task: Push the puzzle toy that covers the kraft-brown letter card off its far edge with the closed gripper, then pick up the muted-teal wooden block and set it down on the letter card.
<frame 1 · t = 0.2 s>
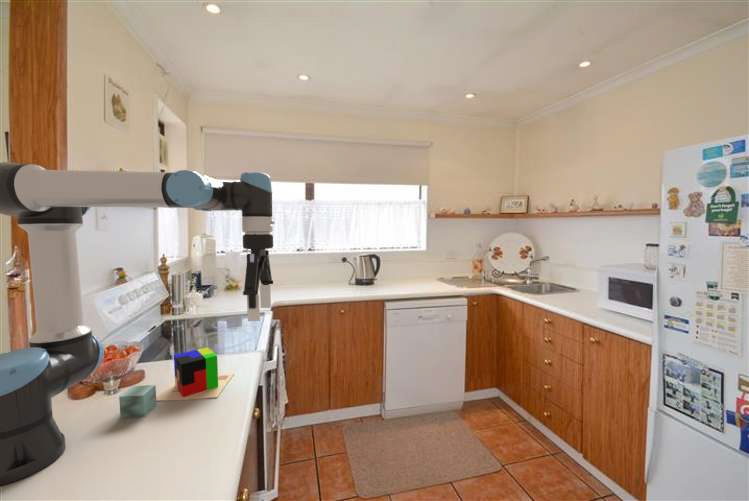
hand: (260, 313, 89), 28 cm above the counter, fingers open, 13 cm apart
puzzle toy: (196, 386, 107), resting on letter card
teal block: (139, 411, 93), on the counter
letter card: (196, 387, 107), on the counter
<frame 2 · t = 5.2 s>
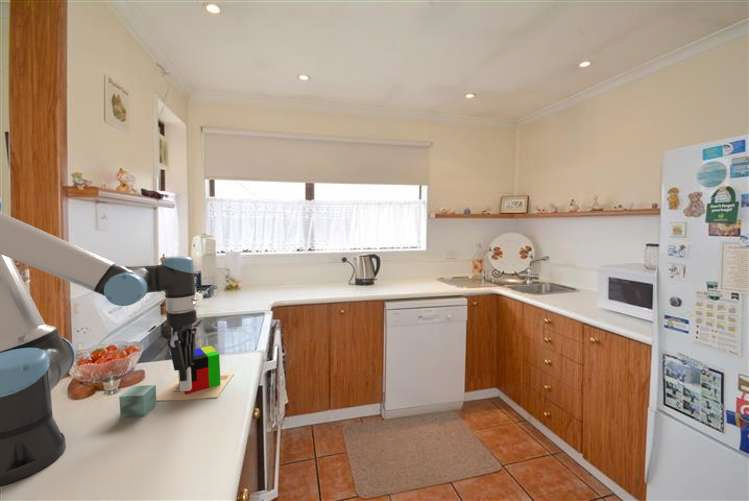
hand: (186, 389, 99), 3 cm above the counter, fingers closed
puzzle toy: (199, 384, 109), resting on letter card
everything else where it was.
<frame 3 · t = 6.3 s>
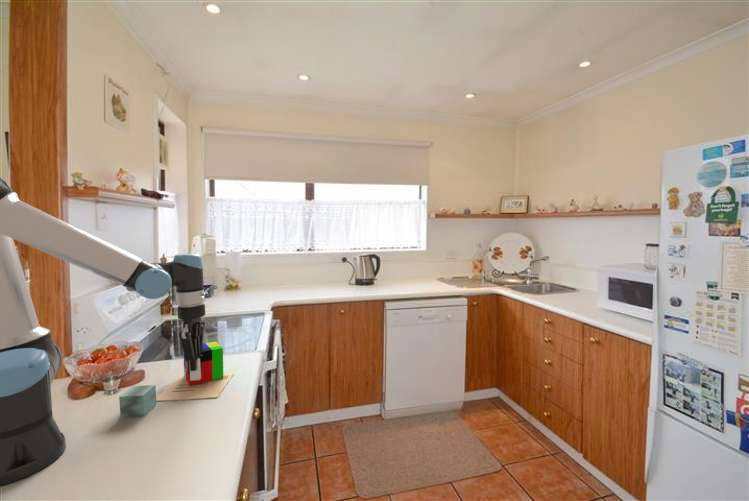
hand: (195, 379, 105), 3 cm above the counter, fingers closed
puzzle toy: (203, 377, 113), on the counter, touching gripper, hand, letter card
everything else where it was.
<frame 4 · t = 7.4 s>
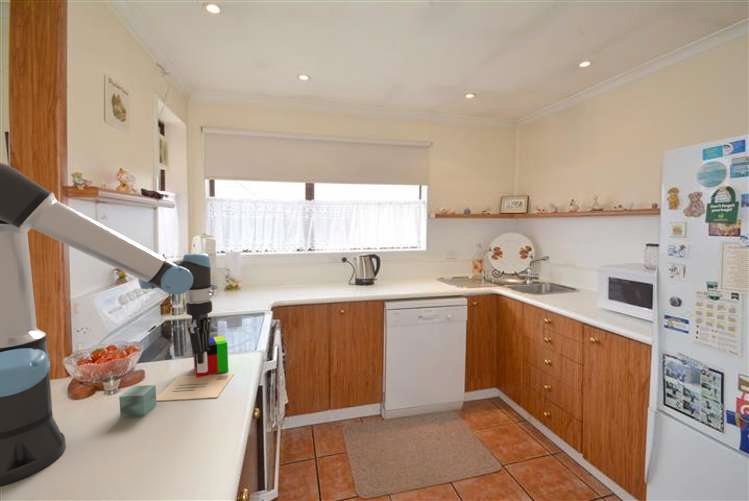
hand: (202, 371, 111), 3 cm above the counter, fingers closed
puzzle toy: (211, 369, 120), on the counter, touching letter card
everything else where it was.
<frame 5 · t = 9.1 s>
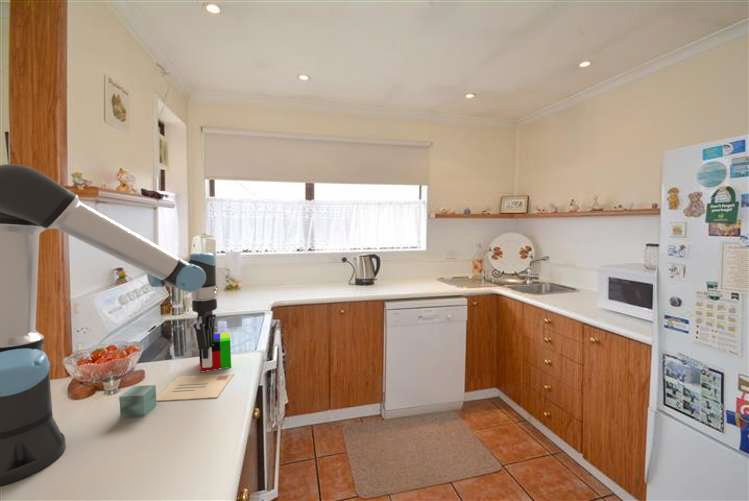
hand: (207, 366, 116), 3 cm above the counter, fingers closed
puzzle toy: (216, 365, 125), on the counter, touching gripper
everything else where it was.
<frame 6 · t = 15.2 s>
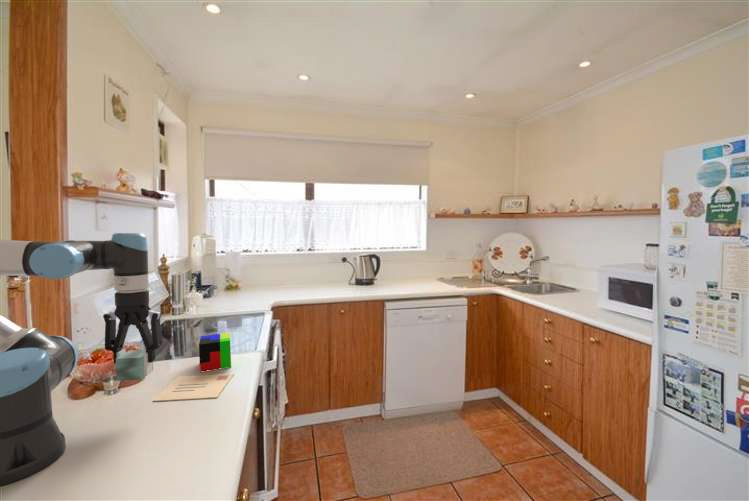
hand: (135, 373, 92), 11 cm above the counter, fingers closed on teal block, 6 cm apart
puzzle toy: (216, 365, 125), on the counter
teal block: (135, 375, 92), point 10 cm above the counter, touching gripper
when the fingers open (1 cm above the counter, at t = 18.7 s): teal block stays where it is, resting on letter card.
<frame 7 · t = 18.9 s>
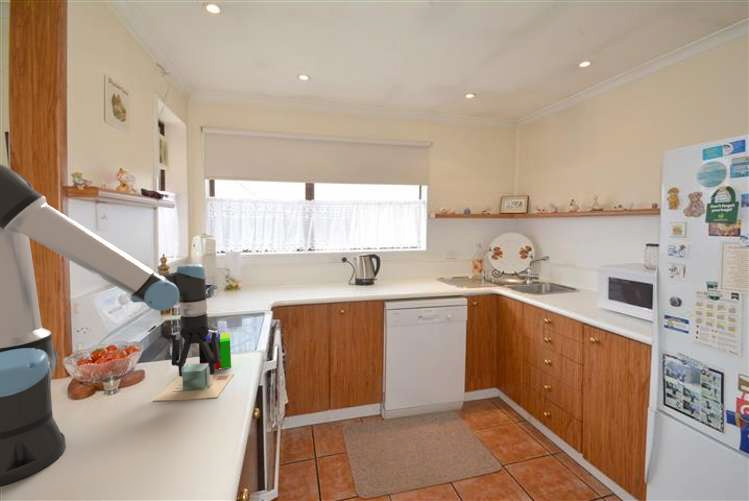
hand: (198, 384, 107), 1 cm above the counter, fingers open, 7 cm apart
teal block: (197, 385, 107), resting on letter card, touching gripper
everything else where it was.
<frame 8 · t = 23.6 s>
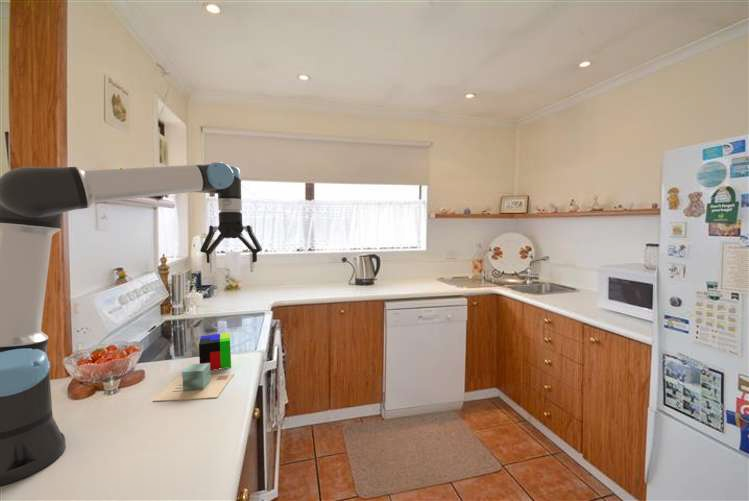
hand: (232, 272, 119), 35 cm above the counter, fingers open, 13 cm apart
teal block: (197, 385, 107), resting on letter card
everything else where it was.
at the end: teal block 0.2 cm from the letter card (horizontally); teal block resting on letter card; puzzle toy inside the target area (7.9 cm from its centre), on the counter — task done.
